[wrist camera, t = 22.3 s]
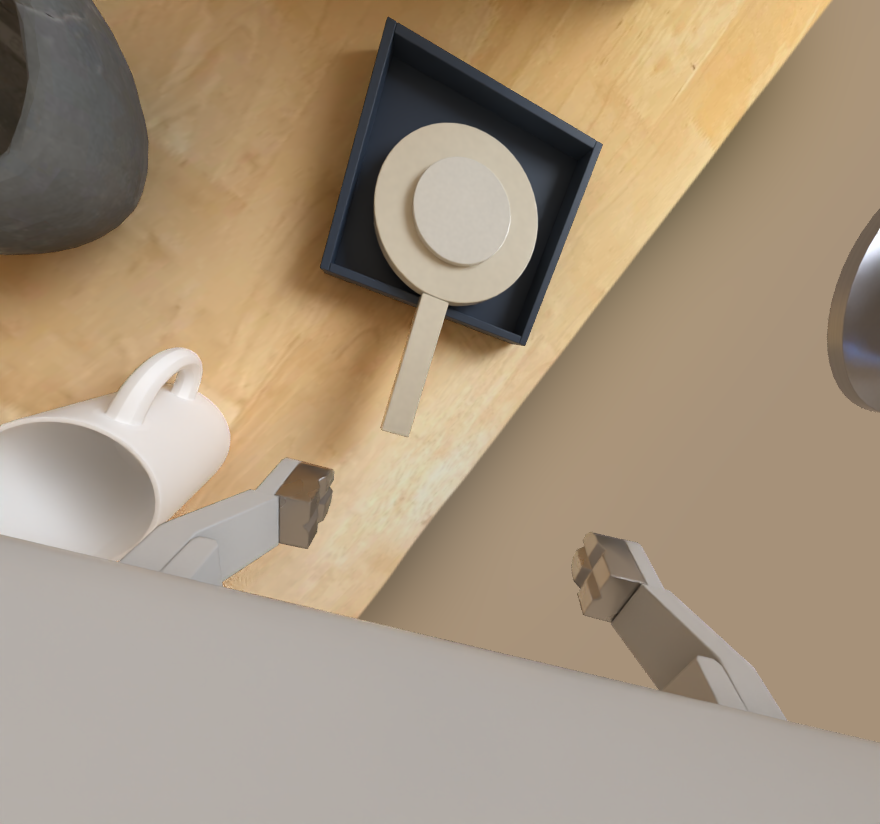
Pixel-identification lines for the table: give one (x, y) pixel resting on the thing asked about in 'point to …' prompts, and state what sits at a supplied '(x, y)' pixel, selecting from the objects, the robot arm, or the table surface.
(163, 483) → the mug
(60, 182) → the bowl
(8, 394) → the table surface
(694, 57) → the table surface
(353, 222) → the tray
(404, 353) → the beige frying pan
